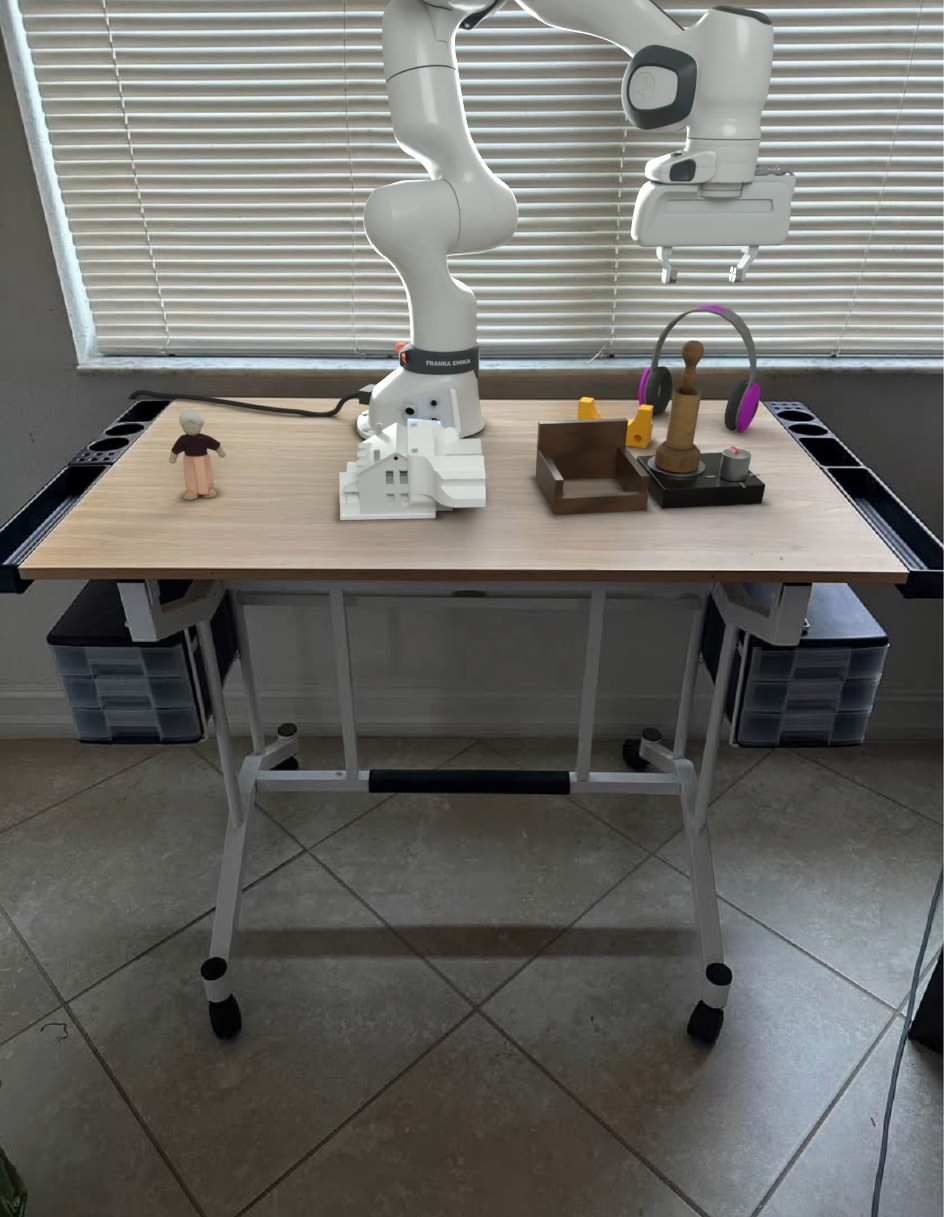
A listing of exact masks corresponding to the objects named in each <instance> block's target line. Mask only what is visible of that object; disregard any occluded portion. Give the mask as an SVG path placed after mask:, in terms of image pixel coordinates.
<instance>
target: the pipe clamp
mask: <svg viewBox="0 0 944 1217" xmlns="http://www.w3.org/2000/svg"><path fill="white" fill-rule="evenodd" d="M577 406H578V408H577V419H576V420H590V419H603V418H602V417H601V415H600V414H599V413H598V411H597V409H596V404H595V398H594V397H588V396H582V397H581V398H580V399H579V401H578V405H577ZM652 413H653V406H651V405H643V404H642V405H641V406H640V405H639V407H638V409H637V413H636V416H635V418H630V419H628V428H627V437H626V447H634V448H641V449H647V447H648V446H649V443H650V442H651V440H652V434H653V426H654V420H653V415H652Z"/></svg>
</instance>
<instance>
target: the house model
mask: <svg viewBox="0 0 944 1217" xmlns="http://www.w3.org/2000/svg"><path fill="white" fill-rule="evenodd" d="M357 446H358V447H357V448H358V449H359V450H358V451H356V457H357V458H358V459H355V461H347V464H346V471H339V472H338V474H339V515H340V516H339V518H340V519H339V520H340V521H362V520H364V521H365V520H367V521H368V520H407V519H408V520H410V519H412V520H413V519H436V518H437V516H436V514H437V512H439V511H440V512H442V511H443V512H445V511H453V508H486V507H487V491H486V481H487V480H486V479H487V478H486V470H485V456H484V455H483V449H482V447H483V446H482V438H462V439H459V434H458V430H457V429H455V428H452V427H448V428H445V429H444V428H443V427H442V426H441V425H440V424H439V423H438V422H436V421H435V420H433V421H432V420H407V428H406V427H404V426H403V425H401V424H399V423H397V422H396V423H394V424H393V425H391V426H389V427H388V428H386V429H384V430H382V423H376V435H374V436H372V437H370V438H369V439H367V440H366V439H364V440H363V441H361V442H358V443H357Z"/></svg>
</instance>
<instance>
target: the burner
mask: <svg viewBox="0 0 944 1217" xmlns="http://www.w3.org/2000/svg"><path fill="white" fill-rule="evenodd" d="M648 467H649V468H650V469H651V470H652V471H654V472H656V473H658V474H661V475H665V476H670V477H678V478H687V477H694V476H698V475H701V474H702V473H703V472H704V471H705V465H704V463H703V462H701V461H699V466H698V468H697V469H696V470H694V471H691V472H672V471H667V470H664V469H661V468H660V467H658V466H657V465H656V464H655V456H654V457H652V458H650V459H649V460H648Z"/></svg>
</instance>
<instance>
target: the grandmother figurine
mask: <svg viewBox="0 0 944 1217" xmlns="http://www.w3.org/2000/svg"><path fill="white" fill-rule="evenodd" d="M178 420H179V421H178V423H179V424H180V426H181V428H182V431H183V432H184V434H182V435H180V436H179V437H178V439H177V440H176V441H175V443H174V444H173V446H172V448H171V449H170V450H171V451H170V453H169V454H170V455H169V456H170V457H169V458H168V462H169V463H170V464H172V465H173V464H176V463H177V459H178V457H179V454H181V453H183V473H184V482H185V488H186V491H187V492H186V493H185V494H184V495H183V499H184V500H189V501H191V500H196V499H198V498H199V495H201V496H202V498H206V499H210V498H214V497H216V496H217V492H216V491H215V490H214V488H215V483H214V472H213V466H212V462H211V457H210V454H209V453H208V450H211V451H215V453H217V455H218V457H219V458H222V459H223V458H225V457H226V456H227V452H226V451H224V449H223V447H222V446H221V444H222V443H221V442H220V441H218V440H217V439H216V438H214V437H212V436H210V435H207V434H206V433H201V432H202V428H203V427H204V425H205V420H204V417H203V416H202V415H201V414H200V413H199V412H197V411H195V410H193V409H186V410H182V412H181V413H180V415H179V417H178Z"/></svg>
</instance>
